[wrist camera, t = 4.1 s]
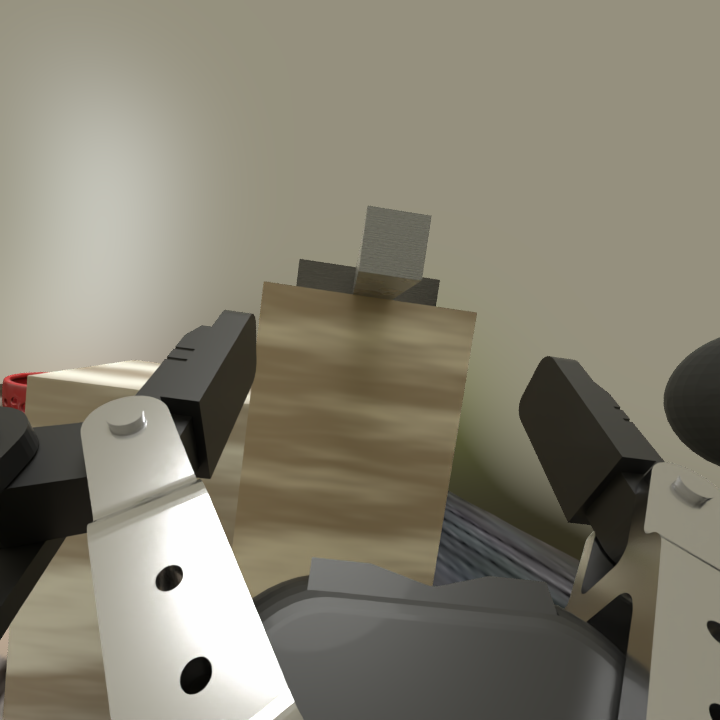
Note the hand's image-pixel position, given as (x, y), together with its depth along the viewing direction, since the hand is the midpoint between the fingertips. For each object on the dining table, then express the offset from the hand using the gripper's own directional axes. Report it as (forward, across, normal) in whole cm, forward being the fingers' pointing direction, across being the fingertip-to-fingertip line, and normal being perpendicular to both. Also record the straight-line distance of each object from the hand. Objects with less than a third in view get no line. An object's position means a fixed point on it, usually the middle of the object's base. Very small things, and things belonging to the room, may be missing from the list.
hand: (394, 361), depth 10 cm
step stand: (+2, +7, +35) cm, 36 cm away
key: (+15, 0, +5) cm, 16 cm away
